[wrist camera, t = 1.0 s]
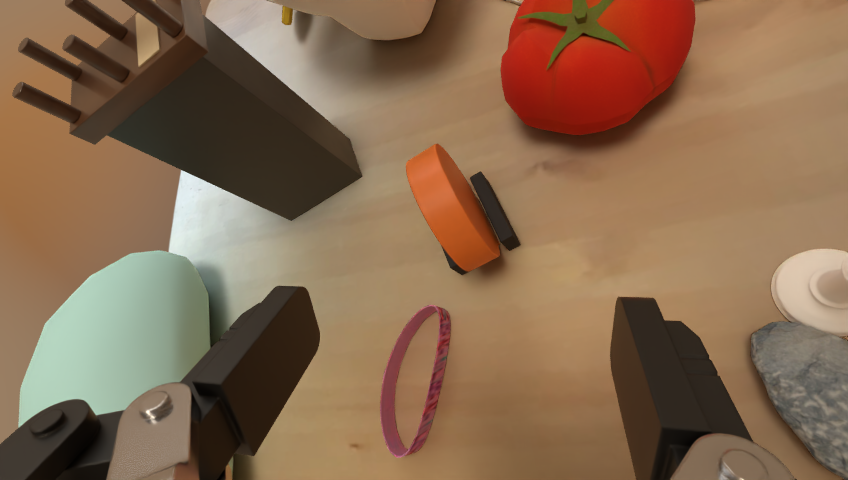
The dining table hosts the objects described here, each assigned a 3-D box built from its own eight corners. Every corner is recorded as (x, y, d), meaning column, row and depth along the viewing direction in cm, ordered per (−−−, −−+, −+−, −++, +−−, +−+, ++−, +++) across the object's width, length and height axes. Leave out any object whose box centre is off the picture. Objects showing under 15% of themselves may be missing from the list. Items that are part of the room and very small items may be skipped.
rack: (208, 52, 25) (132, -8, 21) (95, 145, 28) (8, 107, 24) (198, -8, 28) (128, -70, 24) (95, 83, 31) (17, 40, 27)
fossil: (807, 312, 25) (719, 348, 26) (824, 295, 22) (726, 336, 23) (942, 465, 20) (829, 500, 22) (986, 468, 18) (853, 508, 19)
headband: (413, 302, 35) (401, 298, 33) (457, 311, 33) (447, 307, 31) (380, 441, 33) (365, 445, 31) (426, 459, 31) (413, 464, 29)
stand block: (362, 176, 41) (199, 54, 26) (291, 221, 44) (102, 133, 28) (349, 138, 43) (191, 4, 28) (282, 182, 46) (102, 81, 30)
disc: (512, 270, 32) (472, 233, 24) (484, 284, 33) (436, 253, 25) (468, 178, 36) (420, 120, 28) (444, 192, 37) (390, 139, 29)
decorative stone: (163, 500, 46) (6, 650, 28) (91, 279, 46) (-105, 294, 29) (289, 455, 46) (210, 576, 29) (216, 236, 47) (96, 225, 29)
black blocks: (521, 245, 33) (513, 235, 30) (461, 275, 34) (450, 268, 32) (489, 183, 35) (480, 170, 33) (436, 214, 37) (423, 203, 34)
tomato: (631, -12, 35) (631, -118, 27) (720, 99, 29) (750, 4, 22) (489, 72, 38) (455, -2, 31) (546, 184, 33) (522, 128, 25)
